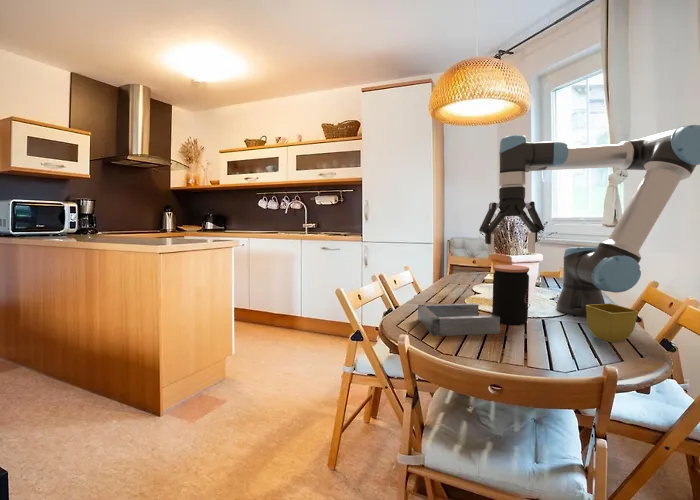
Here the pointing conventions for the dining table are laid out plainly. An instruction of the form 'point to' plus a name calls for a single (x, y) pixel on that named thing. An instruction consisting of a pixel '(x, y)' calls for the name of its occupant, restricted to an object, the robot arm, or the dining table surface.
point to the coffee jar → (511, 294)
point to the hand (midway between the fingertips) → (511, 253)
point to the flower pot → (611, 321)
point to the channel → (457, 320)
